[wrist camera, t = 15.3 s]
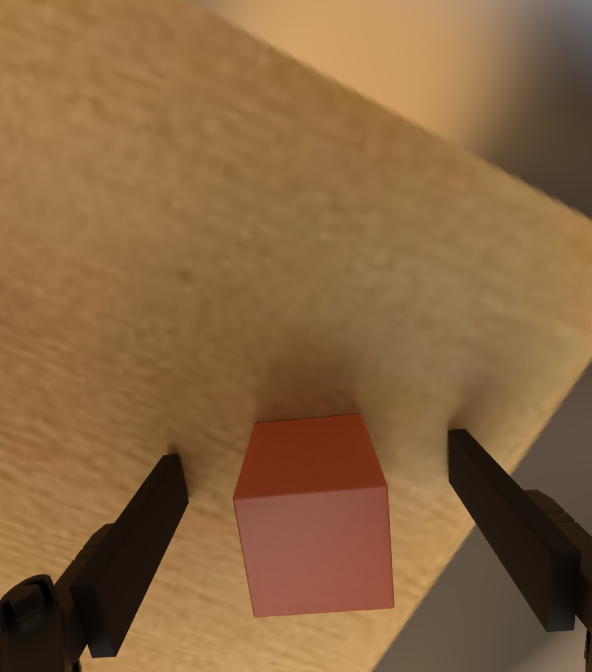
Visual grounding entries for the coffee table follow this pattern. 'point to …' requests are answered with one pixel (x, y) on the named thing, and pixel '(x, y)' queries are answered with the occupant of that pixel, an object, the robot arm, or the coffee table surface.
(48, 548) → the coffee table surface
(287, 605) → the block
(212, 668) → the coffee table surface
